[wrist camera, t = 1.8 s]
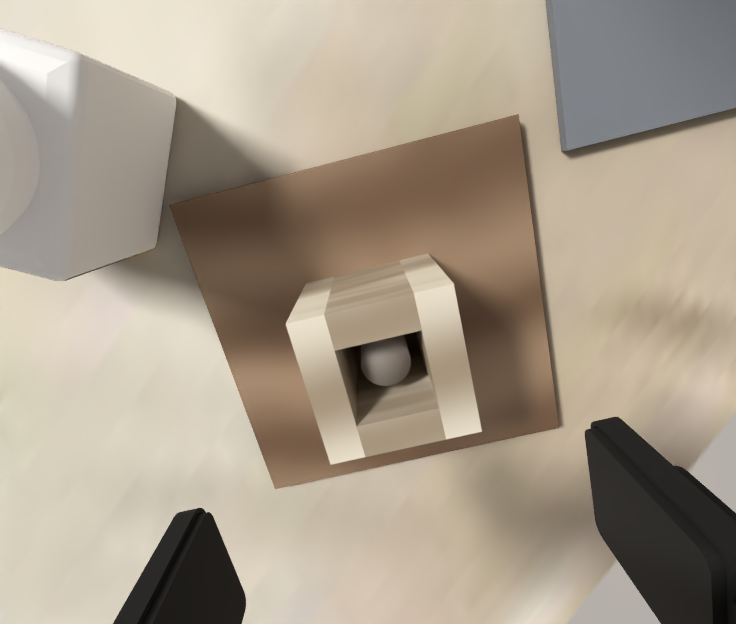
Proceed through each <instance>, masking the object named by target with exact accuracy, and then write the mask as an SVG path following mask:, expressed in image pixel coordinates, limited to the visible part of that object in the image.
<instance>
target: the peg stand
mask: <svg viewBox="0 0 736 624" xmlns="http://www.w3.org/2000/svg"><path fill="white" fill-rule="evenodd" d="M169 206H170V209H171V211H172V214H173V217H174V219H175V222H176V225H177V227H178V230H179V233H180V235H181V238H182V241H183V243H184V246H185V249H186V251H187V254H188V257H189V259H190V262H191V265H192V267H193V270H194V273H195V276H196V278H197V281H198V284H199V286H200V289H201V292H202V294H203V297H204V300H205V302H206V305H207V308H208V310H209V313H210V316H211V318H212V321H213V324H214V326H215V329H216V332H217V334H218V337H219V340H220V342H221V345H222V348H223V351H224V353H225V356H226V359H227V361H228V364H229V367H230V369H231V372H232V375H233V377H234V380H235V383H236V385H237V388H238V391H239V393H240V396H241V399H242V401H243V404H244V407H245V409H246V412H247V415H248V417H249V420H250V423H251V426H252V428H253V431H254V434H255V436H256V439H257V442H258V444H259V447H260V450H261V452H262V455H263V458H264V460H265V463H266V466H267V468H268V471H269V474H270V476H271V479H272V482H273V484H274V487H275V489H278V488H283V487H287V486H292V485H296V484H301V483H306V482H310V481H315V480H319V479H324V478H329V477H333V476H338V475H342V474H347V473H352V472H356V471H361V470H366V469H370V468H375V467H379V466H384V465H389V464H393V463H398V462H402V461H407V460H412V459H416V458H421V457H425V456H430V455H435V454H439V453H444V452H449V451H453V450H458V449H462V448H467V447H472V446H476V445H481V444H485V443H490V442H495V441H499V440H504V439H508V438H513V437H518V436H522V435H527V434H531V433H536V432H541V431H545V430H550V429H555V428H559V424H558V416H557V409H556V401H555V393H554V386H553V378H552V370H551V362H550V355H549V347H548V339H547V331H546V324H545V316H544V308H543V300H542V293H541V285H540V277H539V269H538V262H537V254H536V246H535V238H534V231H533V223H532V215H531V207H530V200H529V192H528V184H527V177H526V169H525V161H524V153H523V146H522V138H521V130H520V122H519V115H514V116H510V117H506V118H502V119H498V120H495V121H491V122H487V123H483V124H479V125H475V126H471V127H468V128H464V129H460V130H456V131H452V132H448V133H445V134H441V135H437V136H433V137H429V138H425V139H422V140H418V141H414V142H410V143H406V144H402V145H398V146H395V147H391V148H387V149H383V150H379V151H375V152H372V153H368V154H364V155H360V156H356V157H352V158H348V159H345V160H341V161H337V162H333V163H329V164H325V165H322V166H318V167H314V168H310V169H306V170H302V171H298V172H295V173H291V174H287V175H283V176H279V177H275V178H272V179H268V180H264V181H260V182H256V183H252V184H249V185H245V186H241V187H237V188H233V189H229V190H225V191H222V192H218V193H214V194H210V195H206V196H202V197H199V198H195V199H191V200H187V201H183V202H179V203H175V204H172V205H169ZM424 254H429V255H430V256H431V257H432V258H433V260H434V261H435V262H436V263H437V264H438V266H439V267H440V268H441V269H442V270H443V272H444V273H445V274H446V275H447V276H448V277H449V279H450V280H451V281H452V282H453V283H454V288H455V293H456V298H457V303H458V309H459V314H460V319H461V324H462V329H463V335H464V340H465V345H466V350H467V356H468V361H469V366H470V371H471V377H472V382H473V387H474V392H475V397H476V403H477V408H478V413H479V418H480V424H481V429H482V432H478V433H474V434H469V435H464V436H460V437H455V438H451V439H446V440H442V441H437V442H432V443H428V444H423V445H419V446H414V447H410V448H405V449H400V450H396V451H391V452H387V453H382V454H378V455H373V456H368V457H364V458H359V459H355V460H350V461H346V462H341V463H336V464H332V465H331V464H330V461H329V458H328V455H327V452H326V449H325V446H324V443H323V440H322V436H321V433H320V430H319V427H318V424H317V421H316V418H315V415H314V411H313V408H312V405H311V402H310V399H309V396H308V393H307V390H306V386H305V383H304V380H303V377H302V374H301V371H300V368H299V365H298V362H297V358H296V355H295V352H294V349H293V346H292V343H291V340H290V337H289V333H288V330H287V327H286V322H287V320H288V318H289V316H290V314H291V312H292V310H293V308H294V306H295V304H296V302H297V300H298V298H299V296H300V294H301V292H302V290H303V288H304V286H305V284H306V283H309V282H313V281H317V280H321V279H325V278H330V277H334V276H338V275H342V274H346V273H350V272H354V271H358V270H362V269H366V268H370V267H375V266H379V265H383V264H387V263H391V262H395V261H399V260H403V259H407V258H411V257H415V256H420V255H424ZM416 348H419V345H418V341H417V336H416V332H413V333H408V334H404V335H400V336H396V337H391V338H387V339H383V340H379V341H374V342H370V343H366V344H362V345H357V346H354V350H355V354H356V357H357V361H358V362H360V361H361V368H362V371H363V374H364V375H365V377H366V378H367V379H368V380H369V381H371V382H372V383H374V384H377V385H381V386H390V385H394V384H397V383H399V382H400V381H402V380H403V379H404V378H405V377H406V376H407V374H408V372H409V370H410V367H411V358H410V354H409V351H408V350H411V349H416Z"/></svg>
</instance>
